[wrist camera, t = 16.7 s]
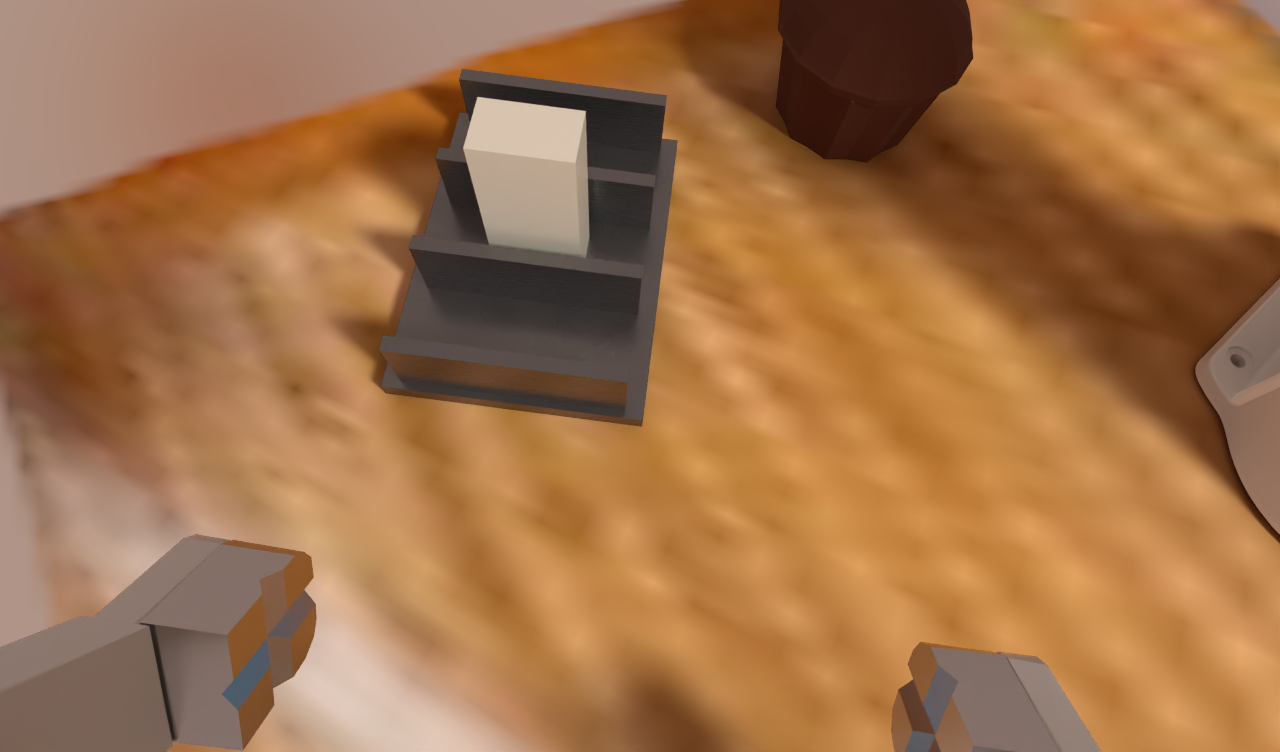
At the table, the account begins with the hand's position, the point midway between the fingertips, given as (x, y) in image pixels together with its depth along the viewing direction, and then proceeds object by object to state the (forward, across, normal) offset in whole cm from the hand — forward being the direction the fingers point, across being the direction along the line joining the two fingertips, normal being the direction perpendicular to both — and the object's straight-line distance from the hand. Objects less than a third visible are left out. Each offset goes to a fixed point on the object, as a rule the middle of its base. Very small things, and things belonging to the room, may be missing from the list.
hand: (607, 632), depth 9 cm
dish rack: (+33, +7, +4) cm, 34 cm away
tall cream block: (+32, +7, +3) cm, 33 cm away
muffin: (+44, -10, -7) cm, 46 cm away
